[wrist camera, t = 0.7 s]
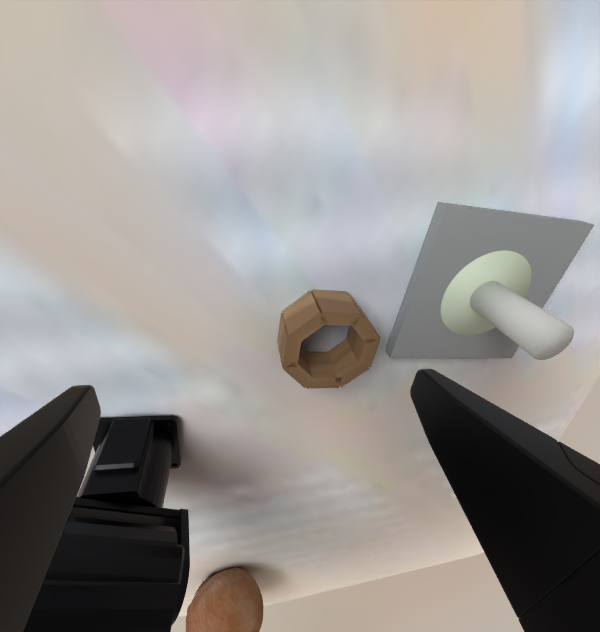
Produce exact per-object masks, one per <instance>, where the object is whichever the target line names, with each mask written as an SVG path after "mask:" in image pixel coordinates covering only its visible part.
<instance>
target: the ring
mask: <svg viewBox="0 0 600 632" xmlns="http://www.w3.org/2000/svg"><path fill="white" fill-rule="evenodd" d="M282 312H283V313H281V318H280V326H279V333H278V341H277V342H278V347H279V352H280V357H281V362H282V367H283V369H284V370H285V371H286V372H287V373H288V374H289V375H290V376H292V377H293V378H294V379H295V380H296V381H297V382H298V383H300V384H301V385H302V386H303V387H304V388H305V387H306V388H339V386H341V387H342V386H343V385H345V384H346V383H348V382H350V381H351V380H353V379H354V378H356V377H357V376H359V375H360V374H362V373H363V372H365V371H366V370H368V369H369V367H371V364H372V361H373V358H374V355H375V352H376V349H377V346H378V343H379V341H380V338H379V337H380V336H379V335H378V333H377V332H376V331H375V329H374V328H373V326H372V325H371V323H370V322H369V320H368V319H367V317H366V316H365V314H364V313H363V312H362V310H361V309H360V308H359V306H358V305H357V304H356V302H355V301H354V300H353V298H352V297H351V296H350V295H349V293H347V292H345V291H327V290H312V292H311V291H309V292H307V293H306V294H305V295H303V296H302V297H301V298H299V299H298V300H297V301H295V302H294V303H293V304H291V305H290V306H289V307H287V308H286V309H285V310H283V311H282ZM324 325H340V326H350V327H349V331H348V335H347V338H346V340H344V341H343V342H341V343H340V344H338V345H337V346H336V347H334V348H333V349H331V350H330V351H328V352H305V351H304V350H302V349H301V348H300V347H301V341H303V340H304V339H306V338H307V337H308V336H310V335H311V334H313V333H314V332H315V331H317V330H318V329H320V328H321V327H323V326H324Z"/></svg>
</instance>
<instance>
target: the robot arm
mask: <svg viewBox="0 0 600 632" xmlns="http://www.w3.org/2000/svg"><path fill="white" fill-rule="evenodd" d="M410 393H411V398H412V400H413V403H414V406H415V408H416V411H417V413H418V416H419V418H420V421H421V424H422V426H423V429H424V431H425V434H426V436H427V439H428V441H429V443H430V445H431V447H432V450H433V451H434V453H435V455H436V457H437V459H438V461H439V463H440V465H441V467H442V469H443V471H444V473H445V475H446V477H447V479H448V481H449V483H450V485H451V487H452V489H453V491H454V493H455V495H456V497H457V499H458V501H459V503H460V505H461V507H462V509H463V511H464V513H465V515H466V517H467V519H468V521H469V523H470V525H471V527H472V529H473V531H474V532H475V534H476V536H477V538H478V540H479V542H480V544H481V546H482V548H483V550H484V552H485V554H486V556H487V558H488V560H489V562H490V564H491V566H492V568H493V570H494V572H495V574H496V575H497V578H498V580H499V582H500V584H501V586H502V588H503V590H504V592H505V594H506V596H507V598H508V600H509V601H510V604H511V605H512V608H513V609H514V611H515V613H516V615H517V617H518V618H519V621H520V624H521V626H522V628H523V630H524V632H600V464H598V463H597V462H595V461H593V460H591V459H589V458H587V457H586V456H584V455H582V454H580V453H578V452H577V451H575V450H573V449H571V448H570V447H568V446H566V445H564V444H563V443H561V442H557V440H556V439H554V438H552V437H550V436H549V435H547V434H545V433H543V432H542V431H540V430H538V429H536V428H535V427H533V426H531V425H529V424H528V423H526V422H524V421H522V420H521V419H519V418H517V417H515V416H514V415H512V414H510V413H508V412H507V411H505V410H503V409H501V408H500V407H498V406H496V405H494V404H493V403H491V402H489V401H487V400H486V399H484V398H482V397H480V396H479V395H477V394H475V393H473V392H472V391H470V390H468V389H466V388H465V387H463V386H461V385H459V384H458V383H456V382H454V381H452V380H451V379H449V378H447V377H445V376H444V375H442V374H440V373H438V372H436V371H435V370H433V369H421V370H419V371H418V372H417V373H416V376H415V379H414V381H413V384H412V387H411V391H410ZM100 415H101V410H100V405H99V402H98V399H97V396H96V392H95V389H94V387H93V386H91V385H78V386H72V387H71V388H69V389H68V390H66V391H65V392H63V393H62V394H60V395H59V396H58V397H56V398H55V399H53V400H52V401H50V402H49V403H48V404H46V405H45V406H43V407H42V408H40V409H39V410H38V411H36V412H35V413H33V414H32V415H31V416H29V417H28V418H26V419H25V420H23V421H22V422H21V423H19V424H18V425H16V426H15V427H13V428H12V429H11V430H9V431H8V432H6V433H5V434H3V435H2V436H1V437H0V632H170V630H171V625H172V624H173V623H174V622H175V620H176V619H177V617H178V615H179V612H180V609H181V607H182V604H183V600H184V597H185V593H186V588H187V583H188V577H189V568H190V555H189V519H188V510H186V509H180V510H175V509H167V508H163V503H164V498H165V493H166V488H167V482H168V477H169V472H170V469H171V468H178V467H179V466H180V464H181V453H180V440H179V427H178V418H177V417H175V416H146V417H118V418H100ZM92 446H93V447H94V450H95V455H94V457H93V460H92V462H91V464H90V467H89V469H88V472H87V474H86V476H85V479H84V481H83V478H84V475H85V471H86V468H87V464H88V461H89V457H90V453H91V450H92ZM82 481H83V483H82ZM81 483H82V486H81ZM80 486H81V488H80ZM79 489H80V490H79ZM78 491H79V493H78ZM77 494H78V495H77ZM76 496H77V497H76Z"/></svg>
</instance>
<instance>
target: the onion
mask: <svg viewBox="0 0 600 632" xmlns="http://www.w3.org/2000/svg"><path fill="white" fill-rule="evenodd" d="M199 587H200V588H199ZM199 587H198V588H199V589H198V588H197V589H198V590H197V591H198V592H196V593H197V594H196V593H195V594H196V595H195V597H194V599H193V601H192V603H191V604H190V605H189V606H188V610H187V617H186V632H259V630H260V628H261V624H262V620H263V600H262V595H261V592H260V589H259V587H258V585H257V583H256V582H255V580H254V579H253V577H252V576H251V575H250V574H249V573H248V572H246V571H245V570H243V569H240V568H235V567H234V568H231V569H226V570H224V571H221V572H218V573H217V572H216V574H215V573H213V574H212V575H210V576H209V577H208V578H207V579H206V580H205V581H203V583H202V584H201V586H199Z"/></svg>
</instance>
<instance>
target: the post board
mask: <svg viewBox="0 0 600 632" xmlns="http://www.w3.org/2000/svg"><path fill="white" fill-rule="evenodd" d="M593 226H594V225H593V224H590V223H586V222H583V221H577V220H569V219H562V218H554V217H547V216H539V215H532V214H524V213H517V212H509V211H502V210H494V209H486V208H479V207H471V206H464V205H456V204H449V203H441V202H438V204H437V207H436V209H435V212H434V215H433V218H432V221H431V223H430V226H429V229H428V232H427V235H426V238H425V240H424V243H423V246H422V249H421V252H420V254H419V257H418V260H417V263H416V266H415V268H414V271H413V274H412V277H411V280H410V283H409V285H408V288H407V291H406V294H405V297H404V299H403V302H402V305H401V308H400V311H399V314H398V316H397V319H396V322H395V325H394V328H393V330H392V333H391V336H390V339H389V342H388V344H387V347H386V352H387V353H388V355H389V356H390V358H512V357H513V355H514V353H515V352H516V350H517V348H518V347H519V346H520V347H521V348H523V349H524V350H525V351H526V352H528V353H529V354H530V355H531V356H533V357H534V358H535V359H538V360H545V359H549V358H551V357H554V356H555V355H557V354H559V353H560V352H562V351H563V350H564V349H565V348H566V347H567V346H568V345H569V343H570V342H571V340H572V338H573V335H574V330H573V328H572V327H571V326H570V325H568V324H566V323H565V322H563V321H561V320H560V319H558V318H556V317H555V316H553V315H552V314H550V313H548V312H547V311H545V310H543V309H542V308H543V307H544V305H545V303H546V302H547V300H548V299H549V297H550V295H551V294H552V292H553V291H554V289H555V287H556V286H557V284H558V283H559V281H560V279H561V278H562V276H563V274H564V273H565V271H566V270H567V268H568V266H569V265H570V263H571V262H572V260H573V258H574V257H575V255H576V254H577V252H578V250H579V249H580V247H581V245H582V244H583V242H584V241H585V239H586V237H587V236H588V234H589V233H590V231H591V229H592V228H593Z"/></svg>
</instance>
